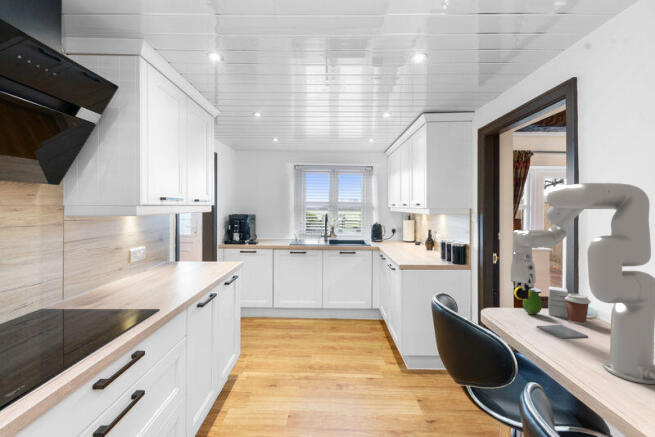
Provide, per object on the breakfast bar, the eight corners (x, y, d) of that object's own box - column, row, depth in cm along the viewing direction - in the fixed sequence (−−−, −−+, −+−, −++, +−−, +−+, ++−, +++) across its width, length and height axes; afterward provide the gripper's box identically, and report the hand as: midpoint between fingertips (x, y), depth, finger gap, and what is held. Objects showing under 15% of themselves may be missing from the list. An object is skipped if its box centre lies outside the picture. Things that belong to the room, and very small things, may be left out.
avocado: (523, 315, 149) (524, 290, 149) (521, 310, 156) (521, 286, 156) (543, 317, 146) (544, 292, 145) (540, 312, 153) (541, 288, 152)
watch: (527, 299, 141) (528, 286, 141) (530, 300, 138) (531, 287, 138) (513, 297, 142) (514, 284, 142) (515, 299, 139) (516, 286, 139)
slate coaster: (588, 337, 123) (588, 335, 123) (561, 338, 122) (561, 337, 121) (561, 326, 135) (561, 324, 135) (536, 327, 133) (536, 325, 133)
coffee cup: (559, 319, 143) (560, 294, 143) (571, 317, 147) (571, 292, 146) (582, 326, 135) (583, 299, 134) (594, 323, 138) (595, 296, 138)
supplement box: (548, 311, 156) (548, 286, 155) (566, 314, 151) (567, 288, 151) (548, 315, 150) (548, 289, 149) (567, 318, 145) (568, 291, 145)
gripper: (544, 259, 133) (544, 302, 133) (516, 255, 149) (516, 293, 149) (528, 259, 132) (528, 303, 132) (502, 255, 148) (502, 294, 148)
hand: (522, 297), depth 140 cm, fingers closed on watch, 2 cm apart
